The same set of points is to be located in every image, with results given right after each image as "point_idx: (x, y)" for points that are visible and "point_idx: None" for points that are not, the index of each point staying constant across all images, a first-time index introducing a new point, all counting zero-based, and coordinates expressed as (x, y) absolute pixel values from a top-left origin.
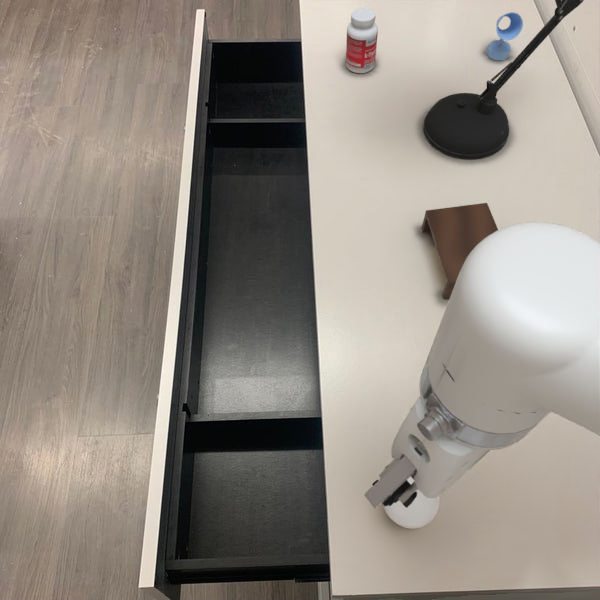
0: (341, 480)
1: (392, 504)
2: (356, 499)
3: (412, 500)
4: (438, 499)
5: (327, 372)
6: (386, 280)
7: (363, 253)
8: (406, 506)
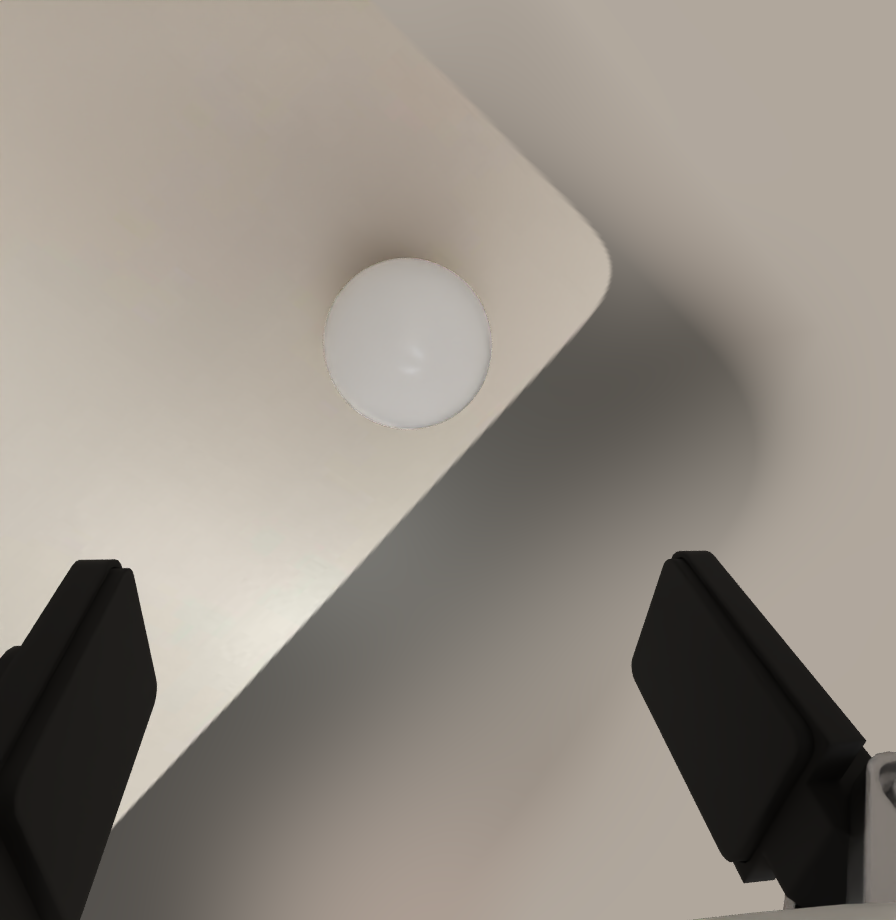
0: (454, 429)
1: (479, 380)
2: None
3: (807, 681)
4: (358, 297)
5: (313, 604)
6: None
7: None
8: (715, 564)
